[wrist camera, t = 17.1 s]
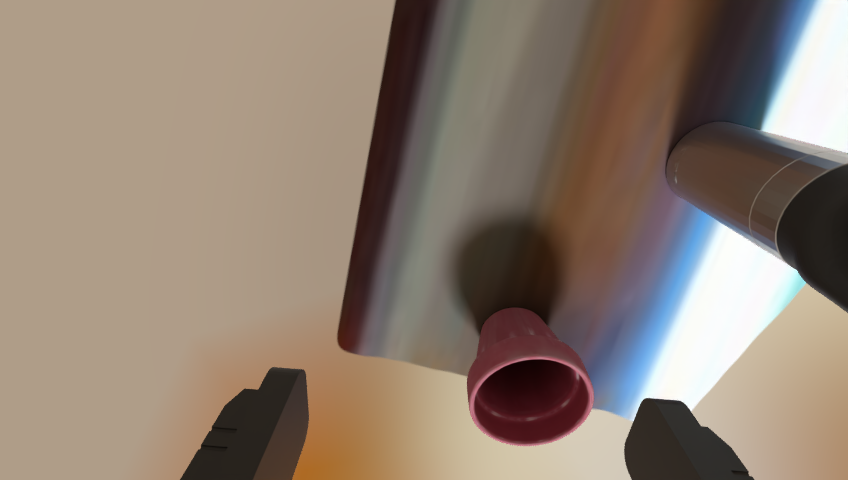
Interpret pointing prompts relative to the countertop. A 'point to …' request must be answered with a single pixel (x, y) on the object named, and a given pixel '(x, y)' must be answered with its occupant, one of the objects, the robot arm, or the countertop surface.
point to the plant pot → (526, 381)
